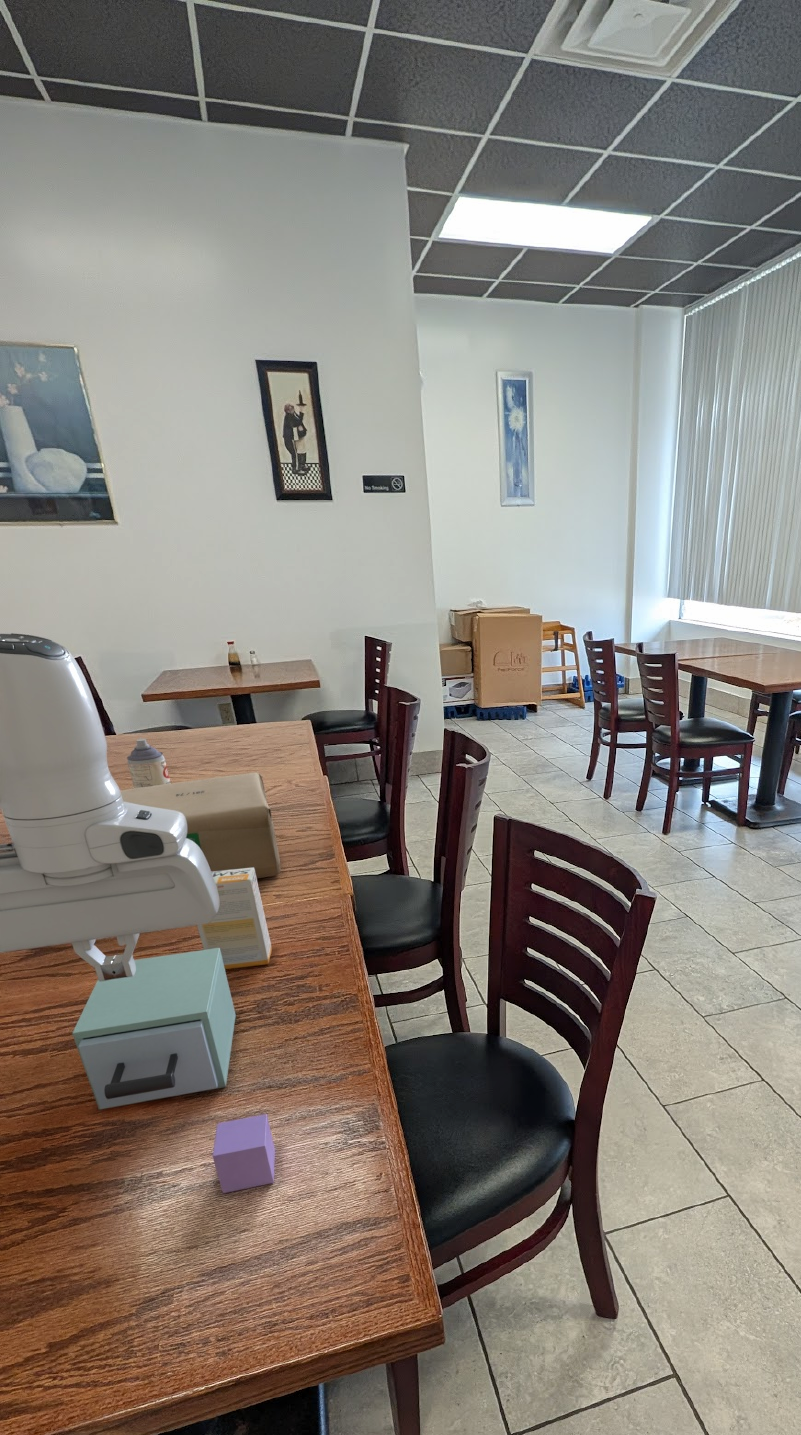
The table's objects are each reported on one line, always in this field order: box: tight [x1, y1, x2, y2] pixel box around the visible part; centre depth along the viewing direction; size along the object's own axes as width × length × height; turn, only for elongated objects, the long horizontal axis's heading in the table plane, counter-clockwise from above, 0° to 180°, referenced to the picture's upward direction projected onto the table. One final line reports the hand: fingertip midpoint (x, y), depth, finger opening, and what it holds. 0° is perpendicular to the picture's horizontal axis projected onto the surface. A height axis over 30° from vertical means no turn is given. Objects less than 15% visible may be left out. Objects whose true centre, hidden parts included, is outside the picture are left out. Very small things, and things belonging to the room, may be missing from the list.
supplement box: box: [196, 868, 273, 970], centre depth 104 cm, size 8×5×13 cm, turn 100°
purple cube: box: [212, 1113, 276, 1194], centre depth 69 cm, size 4×4×4 cm
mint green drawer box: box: [71, 948, 237, 1111], centre depth 84 cm, size 15×13×10 cm
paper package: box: [120, 771, 282, 880], centre depth 136 cm, size 27×26×14 cm
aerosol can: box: [126, 738, 171, 789], centre depth 152 cm, size 7×7×20 cm
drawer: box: [79, 1019, 218, 1110], centre depth 80 cm, size 18×11×8 cm, turn 15°
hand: (118, 976), depth 70 cm, fingers closed
